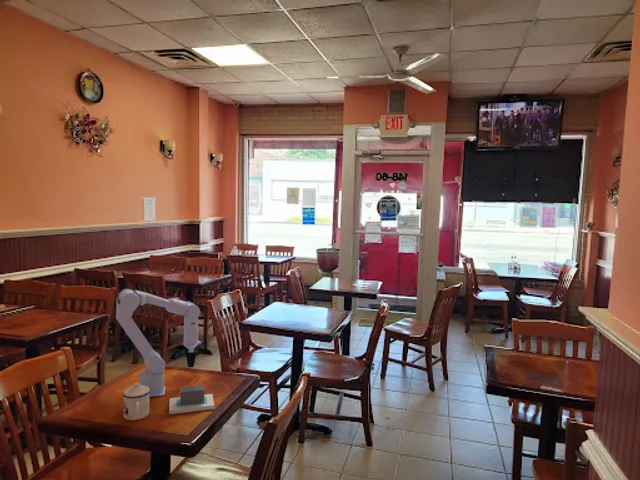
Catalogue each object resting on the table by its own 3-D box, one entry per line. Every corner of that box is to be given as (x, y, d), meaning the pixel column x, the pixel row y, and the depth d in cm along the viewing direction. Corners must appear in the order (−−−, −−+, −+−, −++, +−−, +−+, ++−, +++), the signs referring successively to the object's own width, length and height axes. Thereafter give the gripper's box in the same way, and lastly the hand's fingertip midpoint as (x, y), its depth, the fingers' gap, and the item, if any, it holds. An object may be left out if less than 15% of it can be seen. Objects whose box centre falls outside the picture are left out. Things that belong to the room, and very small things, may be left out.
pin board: (169, 414, 155) (169, 401, 155) (169, 402, 164) (169, 390, 164) (214, 409, 160) (214, 397, 160) (212, 397, 170) (212, 386, 169)
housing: (180, 405, 159) (180, 392, 158) (180, 400, 163) (180, 387, 162) (204, 402, 162) (204, 389, 161) (203, 397, 166) (203, 385, 165)
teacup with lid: (122, 411, 156) (122, 380, 155) (149, 407, 160) (149, 377, 159) (122, 427, 145) (122, 394, 144) (151, 422, 149) (151, 389, 148)
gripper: (201, 336, 173) (201, 369, 174) (200, 326, 187) (199, 357, 188) (183, 337, 171) (183, 370, 172) (183, 327, 184) (182, 358, 185)
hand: (190, 363), depth 180 cm, fingers open, 7 cm apart
